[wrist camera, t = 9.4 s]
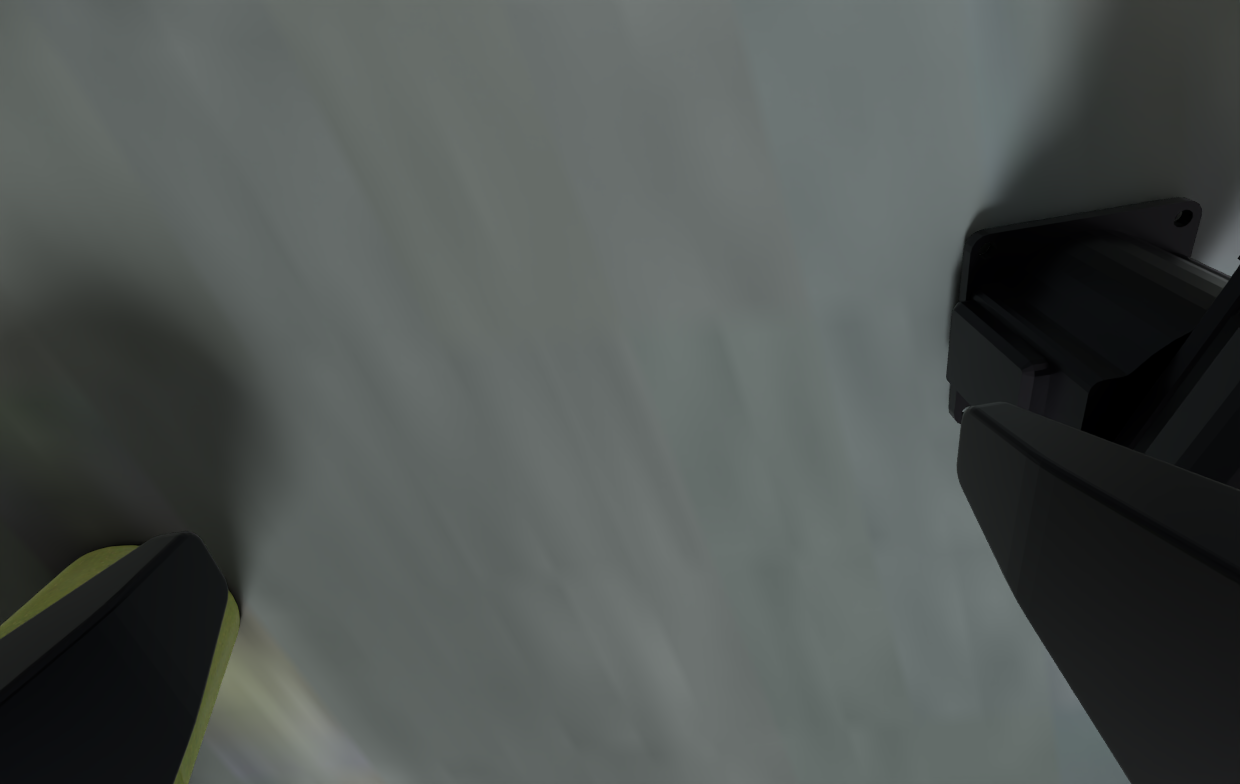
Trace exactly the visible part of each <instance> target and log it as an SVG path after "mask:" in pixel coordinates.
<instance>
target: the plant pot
mask: <svg viewBox="0 0 1240 784" xmlns="http://www.w3.org/2000/svg"><path fill="white" fill-rule="evenodd" d="M137 547H139V546H136V545H125V546H112V547H107V548H102V549H98V550H95V551H93V552H90V553H87V554H85V555H84V556H82V557H80V558H79V559H77V560H76V561H74V562H73V563H72V564H70V565H69V566H68V567H67V568H66V569H64V570H63V571H62V572H61V573H60V574H59V575H58V576H56V577H55V578H54V579H53V580H52V581H51V582H50V583H48V584H47V585H46V586H45V587H44V588H43V589H42V590H40V591H39V592H38V593H37V594H36V595H35V596H34V597H33V598H31V599H30V600H29V601H28V602H27V603H26V604H25V605H24V606H22V607H21V608H20V609H19V610H18V611H17V612H16V613H14V614H13V615H12V616H11V617H10V618H9V619H8V620H6V621H5V622H4V623H3V624H2V625H1V626H0V639H1V638H2V637H4V636H5V635H7V634H8V633H10V632H11V631H13V630H14V629H16V628H17V627H19V626H20V625H22V624H23V623H25V622H26V621H28V620H29V619H31V618H32V617H34V616H35V615H37V614H38V613H40V612H41V611H43V610H44V609H46V608H47V607H49V606H50V605H52V604H53V603H55V602H56V601H58V600H59V599H61V598H62V597H64V596H65V595H67V594H68V593H70V592H71V591H73V590H74V589H76V588H77V587H79V586H80V585H82V584H83V583H85V582H86V581H88V580H89V579H91V578H92V577H94V576H95V575H97V574H98V573H100V572H101V571H103V570H104V569H106V568H107V567H109V566H110V565H112V564H113V563H115V562H116V561H118V560H119V559H121V558H122V557H124V556H125V555H127V554H128V553H130V552H131V551H133V550H134V549H136V548H137ZM239 626H240V616H239V610H238V606H237V604H236V602H235V600H234V597H233V596H232V594H231V593H230V591H229V590H228V602H227V606H226V610H225V614H224V618H223V622H222V625H221V629H220V633H219V637H218V641H217V645H216V649H215V653H214V657H213V660H212V664H211V668H210V672H209V676H208V680H207V684H206V688H205V692H204V695H203V699H202V703H201V706H200V710H199V713H198V717H197V720H196V724H195V726H194V729H193V732H192V735H191V738H190V741H189V744H188V747H187V749H186V752H185V755H184V758H183V760H182V763H181V766H180V768H179V771H178V774H177V777H176V779H175V782H174V784H188V783H189V780H190V776H191V773H192V770H193V767H194V764H195V761H196V758H197V755H198V752H199V749H200V746H201V743H202V740H203V737H204V734H205V731H206V728H207V725H208V722H209V719H210V716H211V713H212V710H213V707H214V704H215V701H216V698H217V695H218V692H219V689H220V685H221V682H222V679H223V676H224V673H225V670H226V667H227V664H228V661H229V658H230V655H231V652H232V649H233V646H234V644H235V641H236V638H237V634H238V630H239Z"/></svg>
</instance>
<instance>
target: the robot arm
mask: <svg viewBox="0 0 1240 784" xmlns="http://www.w3.org/2000/svg"><path fill="white" fill-rule="evenodd" d="M1181 211H1182V215H1181V217H1180V218H1179V219H1178V220H1177V221H1176V222H1174V220H1175V218H1176V216H1177V215H1178V214H1179V213H1180V212H1181ZM1201 215H1202V208H1201V206H1200V204H1198V203H1197V202H1195V201H1192V200H1190V199H1187V198H1184V197H1176V198H1170V199H1164V200H1158V201H1152V202H1146V203H1140V204H1134V205H1128V206H1122V207H1116V208H1110V209H1104V210H1098V211H1092V212H1086V213H1080V214H1073V215H1067V216H1061V217H1055V218H1049V219H1043V220H1037V221H1031V222H1025V223H1019V224H1013V225H1007V226H1001V227H995V228H989V229H983V230H980V231H977V232H975V233H974V234H973V235H971V236H970V237H969V239H968V240H967V241H966V243H965V247H964V252H963V263H962V273H961V284H960V294H959V302H958V303H957V304H956V306H955V307H954V309H953V310H952V319H951V330H950V341H949V352H948V363H947V374H946V378H947V380H948V381H949V383H950V384H951V388H950V398H949V413H950V414H951V415H952V417H953V418H954V419H955V420H956V421H957V423H959V424H961V430H960V439H959V448H958V457H957V474H958V479H959V482H960V485H961V487H962V489H963V492H964V494H965V496H966V498H967V500H968V502H969V504H970V506H971V508H972V510H973V512H974V514H975V517H976V519H977V521H978V523H979V525H980V527H981V529H982V531H983V533H984V535H985V537H986V540H987V542H988V544H989V546H990V548H991V550H992V552H993V554H994V556H995V558H996V560H997V562H998V565H999V567H1000V569H1001V571H1002V573H1003V575H1004V577H1005V579H1006V581H1007V583H1008V585H1009V587H1010V589H1011V591H1012V593H1013V595H1014V597H1015V598H1016V600H1017V602H1018V604H1019V605H1020V607H1021V609H1022V610H1023V612H1024V614H1025V615H1026V617H1027V619H1028V620H1029V622H1030V623H1031V625H1032V627H1033V628H1034V630H1035V631H1036V633H1037V635H1038V636H1039V638H1040V639H1041V641H1042V643H1043V644H1044V646H1045V647H1046V649H1047V650H1048V652H1049V654H1050V655H1051V657H1052V658H1053V660H1054V662H1055V663H1056V665H1057V666H1058V668H1059V670H1060V671H1061V673H1062V674H1063V676H1064V678H1065V679H1066V681H1067V682H1068V684H1069V686H1070V687H1071V689H1072V690H1073V692H1074V693H1075V695H1076V697H1077V698H1078V700H1079V701H1080V703H1081V705H1082V706H1083V708H1084V709H1085V711H1086V713H1087V714H1088V716H1089V717H1090V719H1091V721H1092V722H1093V724H1094V725H1095V727H1096V728H1097V730H1098V732H1099V733H1100V735H1101V736H1102V738H1103V740H1104V741H1105V743H1106V744H1107V746H1108V748H1109V749H1110V751H1111V752H1112V754H1113V756H1114V757H1115V759H1116V760H1117V762H1118V763H1119V765H1120V767H1121V768H1122V770H1123V771H1124V773H1125V775H1126V776H1127V778H1128V779H1129V781H1130V783H1131V784H1240V265H1239V267H1238V268H1237V270H1236V271H1235V272H1234V274H1233V275H1232V276H1229V275H1226V274H1224V273H1222V272H1220V271H1218V270H1216V269H1214V268H1211V267H1209V266H1207V265H1205V264H1203V263H1201V262H1198V261H1196V260H1194V259H1192V258H1190V257H1191V253H1192V249H1193V245H1194V242H1195V238H1196V234H1197V230H1198V227H1199V223H1200V219H1201ZM988 242H990V246H989V249H988V250H987V251H986V252H985V253H983V254H981V255H979V251H980V248H981V247H982V246H983V245H984V244H985V243H988ZM1238 259H1239V260H1240V256H1239V257H1238ZM967 406H971V407H969V408H968V409H966V410H965V412H962V411H963V409H964V408H965V407H967ZM227 602H228V585H227V582H226V579H225V577H224V575H223V574H222V572H221V570H220V569H219V567H218V565H217V564H216V562H215V560H214V559H213V557H212V556H211V554H210V552H209V551H208V549H207V547H206V546H205V544H204V542H203V541H202V539H201V538H200V537H199V536H198V535H197V534H195V533H193V532H190V531H183V532H177V533H170V534H164V535H158V536H156V537H153V538H151V539H149V540H148V541H146V542H145V543H143V544H142V545H140V546H139V547H137V548H136V549H134V550H133V551H131V552H130V553H128V554H127V555H125V556H124V557H122V558H121V559H119V560H118V561H116V562H115V563H113V564H112V565H110V566H109V567H107V568H106V569H104V570H103V571H101V572H100V573H98V574H97V575H95V576H94V577H92V578H91V579H89V580H88V581H86V582H85V583H83V584H82V585H80V586H79V587H77V588H76V589H74V590H73V591H71V592H70V593H68V594H67V595H65V596H64V597H62V598H61V599H59V600H58V601H56V602H55V603H53V604H52V605H50V606H49V607H47V608H46V609H44V610H43V611H41V612H40V613H38V614H37V615H35V616H34V617H32V618H31V619H29V620H28V621H26V622H25V623H23V624H22V625H20V626H19V627H17V628H16V629H14V630H13V631H11V632H10V633H8V634H7V635H5V636H4V637H2V638H1V639H0V784H174V782H175V779H176V777H177V774H178V771H179V768H180V766H181V763H182V760H183V758H184V755H185V752H186V749H187V747H188V744H189V741H190V738H191V735H192V732H193V729H194V726H195V724H196V720H197V717H198V713H199V710H200V706H201V703H202V699H203V695H204V692H205V688H206V684H207V680H208V676H209V672H210V668H211V664H212V660H213V657H214V653H215V649H216V645H217V641H218V637H219V633H220V629H221V625H222V622H223V618H224V614H225V610H226V606H227Z"/></svg>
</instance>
